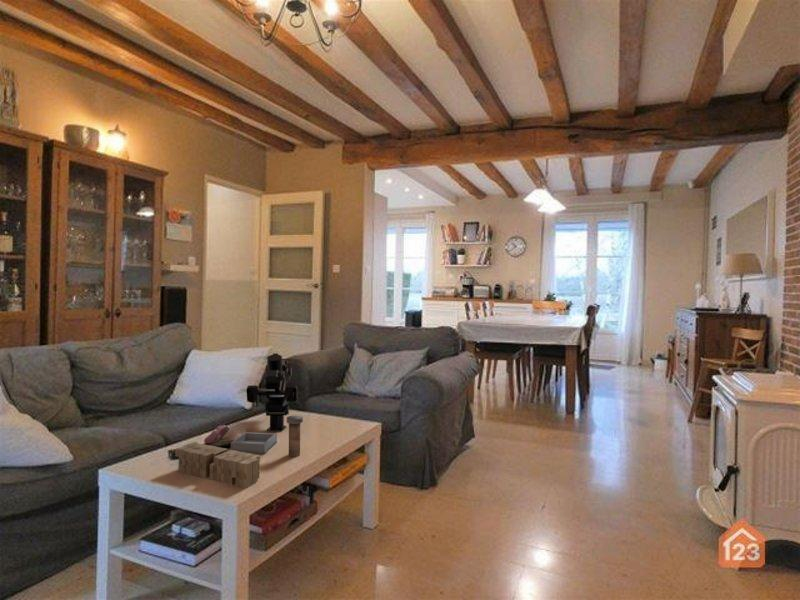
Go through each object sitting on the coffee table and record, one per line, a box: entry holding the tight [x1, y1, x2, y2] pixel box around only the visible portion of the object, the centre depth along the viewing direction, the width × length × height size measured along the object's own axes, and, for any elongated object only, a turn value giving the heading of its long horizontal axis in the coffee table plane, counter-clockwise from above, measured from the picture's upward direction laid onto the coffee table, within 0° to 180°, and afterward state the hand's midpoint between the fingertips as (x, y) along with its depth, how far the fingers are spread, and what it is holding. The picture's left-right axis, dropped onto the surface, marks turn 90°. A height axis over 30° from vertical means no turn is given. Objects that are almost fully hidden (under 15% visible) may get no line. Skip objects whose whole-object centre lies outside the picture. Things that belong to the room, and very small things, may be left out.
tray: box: [230, 431, 278, 455], centre depth 179 cm, size 13×13×4 cm
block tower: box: [174, 441, 261, 489], centre depth 152 cm, size 8×8×29 cm
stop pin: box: [286, 414, 304, 458], centre depth 172 cm, size 6×6×14 cm
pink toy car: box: [203, 424, 231, 444], centre depth 186 cm, size 10×5×7 cm, turn 169°
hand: (269, 405), depth 177 cm, fingers open, 9 cm apart
